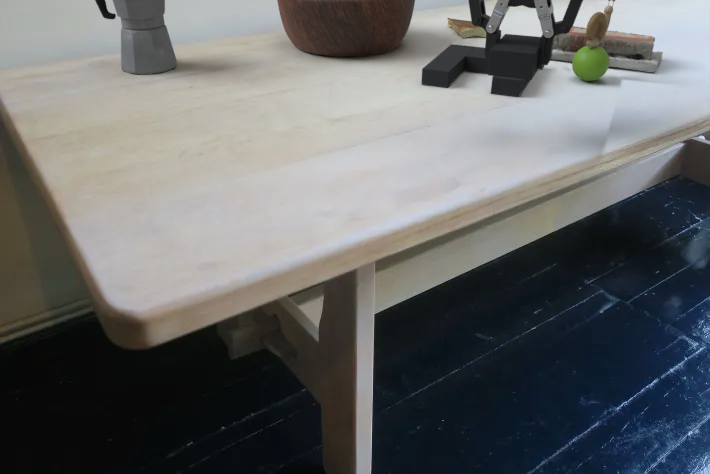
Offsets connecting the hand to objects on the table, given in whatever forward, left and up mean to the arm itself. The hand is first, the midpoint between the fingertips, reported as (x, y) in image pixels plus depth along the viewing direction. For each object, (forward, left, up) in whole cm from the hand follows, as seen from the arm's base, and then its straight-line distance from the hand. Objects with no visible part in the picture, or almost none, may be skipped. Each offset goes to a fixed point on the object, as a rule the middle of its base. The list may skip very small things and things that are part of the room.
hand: (516, 64), depth 79 cm
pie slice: (+19, -51, -9) cm, 55 cm away
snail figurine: (-7, -29, -9) cm, 31 cm away
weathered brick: (-8, -42, -9) cm, 43 cm away
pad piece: (0, 0, 0) cm, 0 cm away
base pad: (+9, -24, -9) cm, 27 cm away
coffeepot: (+62, -7, -9) cm, 63 cm away
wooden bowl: (+37, -34, -9) cm, 51 cm away
